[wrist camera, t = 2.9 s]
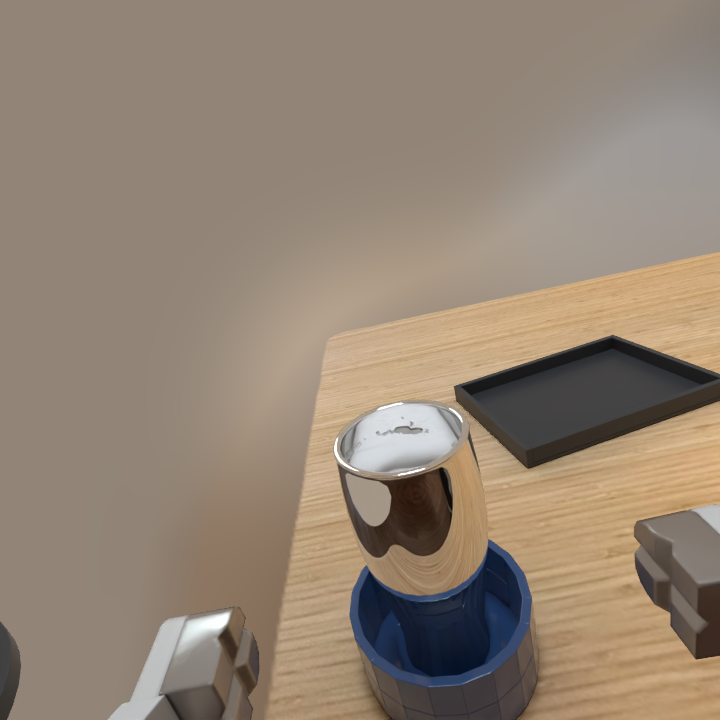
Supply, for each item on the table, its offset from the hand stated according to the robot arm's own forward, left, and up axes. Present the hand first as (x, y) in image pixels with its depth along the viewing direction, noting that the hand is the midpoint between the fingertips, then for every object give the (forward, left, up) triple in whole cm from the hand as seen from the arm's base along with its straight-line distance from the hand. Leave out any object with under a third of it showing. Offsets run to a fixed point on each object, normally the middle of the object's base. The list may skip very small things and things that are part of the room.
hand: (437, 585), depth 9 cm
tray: (+26, +32, -19) cm, 45 cm away
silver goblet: (+2, +12, -19) cm, 22 cm away
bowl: (+2, +12, -19) cm, 22 cm away
